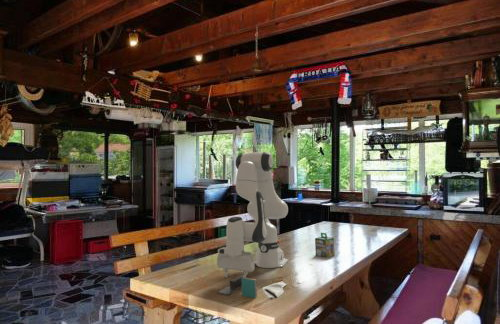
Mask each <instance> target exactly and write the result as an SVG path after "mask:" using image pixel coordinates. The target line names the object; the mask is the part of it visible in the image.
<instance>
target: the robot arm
mask: <svg viewBox="0 0 500 324" xmlns="http://www.w3.org/2000/svg"><path fill="white" fill-rule="evenodd" d="M274 163H275V162H274V157H273V155H272V154H271V153H270V152H268V151H263V152H261V151H259V152H258V151H254V152H247V153H245V152H244V153H240V154H237V157H236V158H235V167H236V169H237V172H236V177H235V178H236V180H235V192H236V193H237V195H238V196H240V197H241V198H243V199H245V200H247V201H248V202H249V203H248V204H247V208H246V209H247V214H248V215H249V217H251V218H252V219H253V220H254V222H249V221H244V220H243V217H240V216H233V217H232V216H231V217H230V218H228V219H227V222H226V229H225V230H226V235H225V236H226V244H225V245H226V246H223V247H221V248H218V249H217V256H216V258H217V259H216V267H218V268H219V269H220V268H222V269H223V272H224V274H225V278H230V275H231V273H230V272H229V271H228V270H233V271H238V272H239V271H240V272H243V274H244V275H243V276H242V278H243V277H245V278H246V275H247V276H248V273H251V272H254V271H255V269H256V268H255V265H256V266H257V267H259V268H263V269H274V268H284V266H285V265H286V264H287V262H288V261H289V259H288V258H285V253H284V250H282V249H281V248H280V246H279V245H280V244H281V240H279V239H278V230H277V226H275V225H274V224H272V223H271V221H270V220H269V219H272V220H275V219H276V220H279V219H284V218H286V216H287V215H288V213H289V207H288V203H286V202H285V201H284V200H282V199H281V198H280V197H279V195H278V194H277V193H276V190H275V185H274V180H273V174H272V169H273V167H274ZM245 242H252V243H257V247H258V249H257V250H256V255H255V256H256V257H255V256H254V254H253V253H252V252H251V251H245Z"/></svg>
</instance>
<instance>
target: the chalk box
mask: <svg viewBox="0 0 500 324" xmlns="http://www.w3.org/2000/svg"><path fill="white" fill-rule="evenodd" d="M314 245H315V246H314V247H315V256H319V257H323V258H329V257H332V256H335V254H336V253H335V252H336V251H335V238H334V237H331V236H327V233H326V232H320V236H318V237H315V238H314Z"/></svg>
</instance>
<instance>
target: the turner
mask: <svg viewBox="0 0 500 324" xmlns="http://www.w3.org/2000/svg"><path fill="white" fill-rule="evenodd" d="M243 275H244V273H243V274H240V275H238V276H236V277H234V278H232V279H231V280H230V279H229V286H225V287H224V288H223V289H220V290H218V291H217V294H218V295H222V296H231V295H232V294H234V293H235V292H237V291H238V289H239V288H240V287H242V276H243ZM247 276H248V274H247V275H246V278H248V277H247Z"/></svg>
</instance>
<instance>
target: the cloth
mask: <svg viewBox="0 0 500 324" xmlns="http://www.w3.org/2000/svg"><path fill="white" fill-rule="evenodd" d="M287 285H288V283H285V282H284V281H278V282H275V283H272V284H268V285H267V286H263V287H262V288H261V289H262V292H263V293H264V295H265V296H266V297H267V299H269V301H271V298H272V299H273V298H275V297H276V298H279V297H280V296H281V295H283V293H285V292H284V287H285V286H287Z"/></svg>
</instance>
